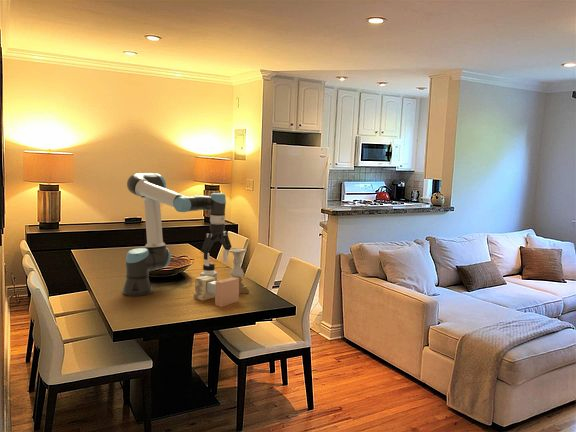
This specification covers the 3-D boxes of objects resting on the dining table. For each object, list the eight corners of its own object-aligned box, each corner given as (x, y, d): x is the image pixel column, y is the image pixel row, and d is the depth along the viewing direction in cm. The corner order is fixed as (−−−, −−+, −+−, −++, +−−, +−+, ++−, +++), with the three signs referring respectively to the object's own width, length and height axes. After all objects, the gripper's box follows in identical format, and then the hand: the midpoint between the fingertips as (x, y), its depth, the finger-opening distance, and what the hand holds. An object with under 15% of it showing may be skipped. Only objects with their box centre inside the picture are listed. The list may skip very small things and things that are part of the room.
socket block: (215, 305, 250) (215, 281, 248) (232, 299, 260) (233, 276, 259) (221, 306, 247) (221, 282, 246) (238, 301, 258) (239, 278, 256)
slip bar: (203, 290, 260) (203, 281, 259) (210, 289, 264) (210, 279, 263) (224, 296, 251) (224, 286, 251) (231, 294, 255) (231, 284, 255)
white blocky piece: (193, 297, 261) (193, 278, 260) (207, 294, 269) (207, 275, 268) (202, 300, 257) (203, 280, 256) (216, 296, 265) (216, 277, 264)
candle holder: (230, 295, 269) (231, 252, 267) (223, 290, 279) (224, 248, 276) (249, 293, 274) (250, 250, 272) (241, 288, 284) (242, 247, 281)
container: (212, 287, 284) (212, 265, 282) (199, 286, 285) (200, 264, 284) (217, 284, 291) (217, 262, 290) (204, 283, 293) (205, 261, 291)
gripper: (205, 226, 241) (203, 268, 244) (239, 222, 261) (237, 261, 264) (194, 224, 245) (193, 266, 248) (228, 220, 265) (227, 259, 268)
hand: (216, 263), depth 256 cm, fingers open, 13 cm apart
